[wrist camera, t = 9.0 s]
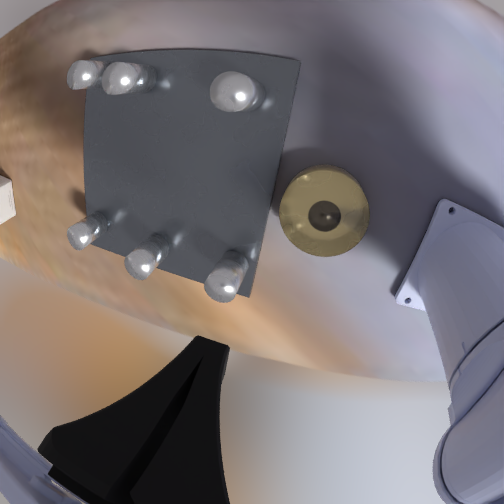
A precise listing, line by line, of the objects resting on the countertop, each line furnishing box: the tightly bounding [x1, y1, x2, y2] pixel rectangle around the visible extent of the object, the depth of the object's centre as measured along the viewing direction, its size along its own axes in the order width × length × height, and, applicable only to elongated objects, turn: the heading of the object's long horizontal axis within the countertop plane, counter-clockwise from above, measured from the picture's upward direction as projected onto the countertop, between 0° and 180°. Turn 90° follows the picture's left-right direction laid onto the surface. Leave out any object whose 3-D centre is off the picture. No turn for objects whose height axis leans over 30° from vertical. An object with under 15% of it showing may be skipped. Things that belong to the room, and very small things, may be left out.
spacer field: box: [67, 50, 301, 303], centre depth 16 cm, size 15×16×4 cm
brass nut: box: [279, 165, 370, 257], centre depth 16 cm, size 5×5×2 cm
